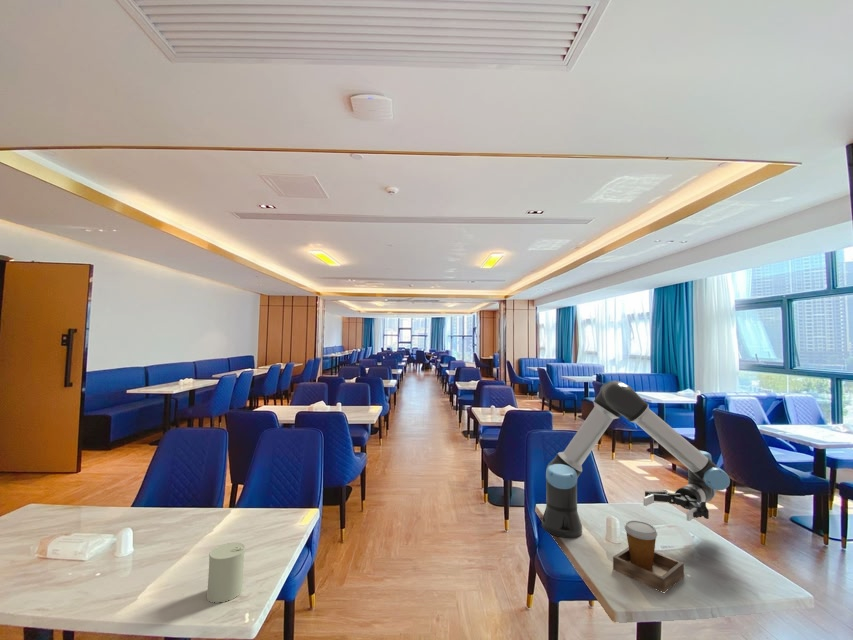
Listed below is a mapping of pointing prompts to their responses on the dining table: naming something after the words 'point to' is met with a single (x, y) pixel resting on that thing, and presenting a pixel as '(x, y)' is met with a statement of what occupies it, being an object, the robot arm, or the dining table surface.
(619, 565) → the cup tray
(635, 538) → the disposable coffee cup
